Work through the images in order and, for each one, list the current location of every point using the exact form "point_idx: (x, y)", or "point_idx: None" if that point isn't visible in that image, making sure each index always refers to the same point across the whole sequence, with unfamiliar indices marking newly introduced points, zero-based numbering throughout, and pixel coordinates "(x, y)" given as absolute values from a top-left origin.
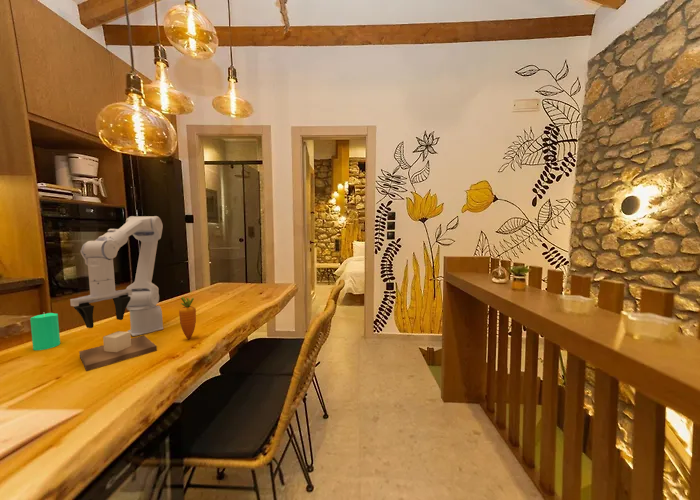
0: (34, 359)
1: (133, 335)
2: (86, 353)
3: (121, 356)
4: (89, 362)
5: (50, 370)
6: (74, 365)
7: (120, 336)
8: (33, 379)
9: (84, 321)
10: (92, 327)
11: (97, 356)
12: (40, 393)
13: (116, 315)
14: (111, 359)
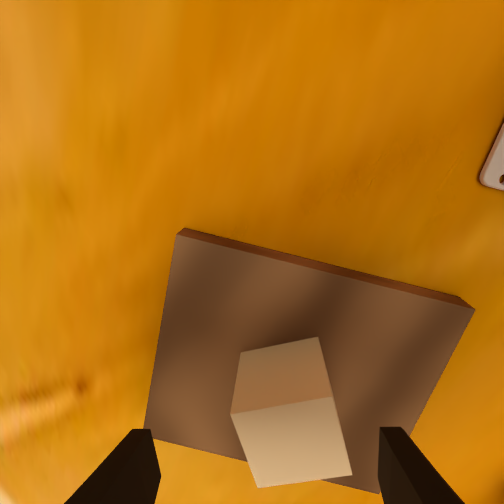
0: (34, 26)
1: (484, 183)
2: (185, 304)
3: None
4: (159, 418)
5: (72, 289)
6: (140, 324)
7: (287, 479)
8: (23, 323)
9: (87, 482)
10: (155, 478)
11: (199, 386)
12: (34, 447)
13: (396, 465)
14: (220, 450)
